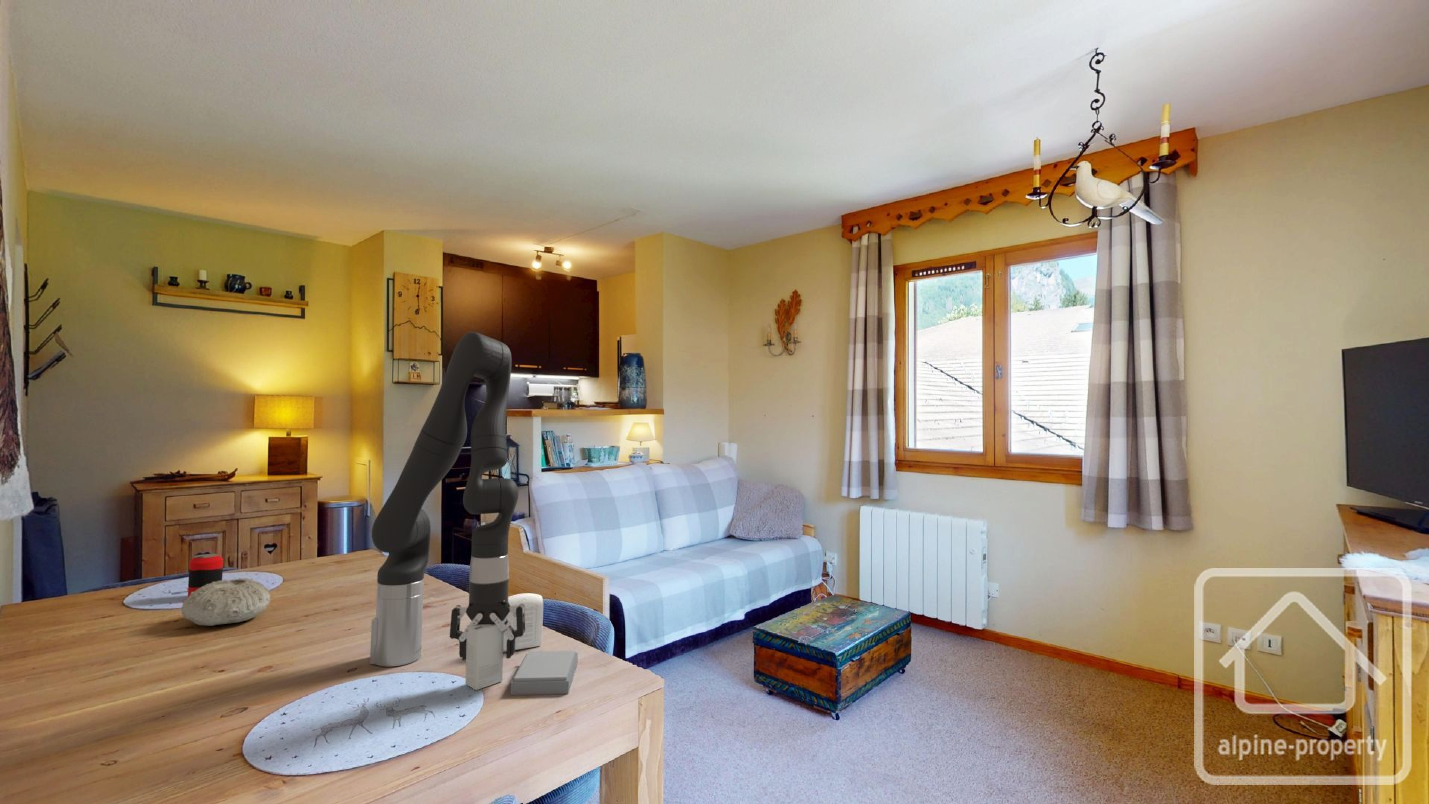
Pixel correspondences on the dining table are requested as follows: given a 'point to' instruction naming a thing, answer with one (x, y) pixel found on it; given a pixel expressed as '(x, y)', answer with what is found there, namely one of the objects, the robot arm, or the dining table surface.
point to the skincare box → (484, 656)
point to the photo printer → (527, 620)
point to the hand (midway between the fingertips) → (487, 657)
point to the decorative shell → (226, 602)
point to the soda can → (204, 571)
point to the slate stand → (545, 673)
